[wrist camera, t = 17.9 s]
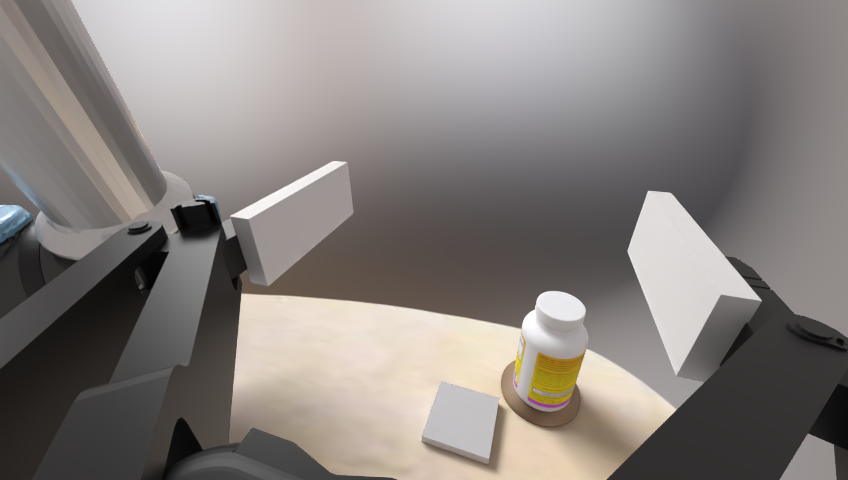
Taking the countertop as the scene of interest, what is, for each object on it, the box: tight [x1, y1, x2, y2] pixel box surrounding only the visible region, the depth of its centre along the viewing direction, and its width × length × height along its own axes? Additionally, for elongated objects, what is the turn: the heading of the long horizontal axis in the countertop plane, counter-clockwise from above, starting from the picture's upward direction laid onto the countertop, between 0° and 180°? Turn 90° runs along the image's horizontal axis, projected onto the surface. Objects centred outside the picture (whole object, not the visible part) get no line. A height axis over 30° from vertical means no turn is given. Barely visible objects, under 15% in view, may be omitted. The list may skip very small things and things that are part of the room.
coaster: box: [501, 360, 580, 427], centre depth 41 cm, size 9×9×1 cm
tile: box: [422, 381, 499, 464], centre depth 37 cm, size 2×7×7 cm
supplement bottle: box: [513, 291, 588, 412], centre depth 37 cm, size 7×7×13 cm
